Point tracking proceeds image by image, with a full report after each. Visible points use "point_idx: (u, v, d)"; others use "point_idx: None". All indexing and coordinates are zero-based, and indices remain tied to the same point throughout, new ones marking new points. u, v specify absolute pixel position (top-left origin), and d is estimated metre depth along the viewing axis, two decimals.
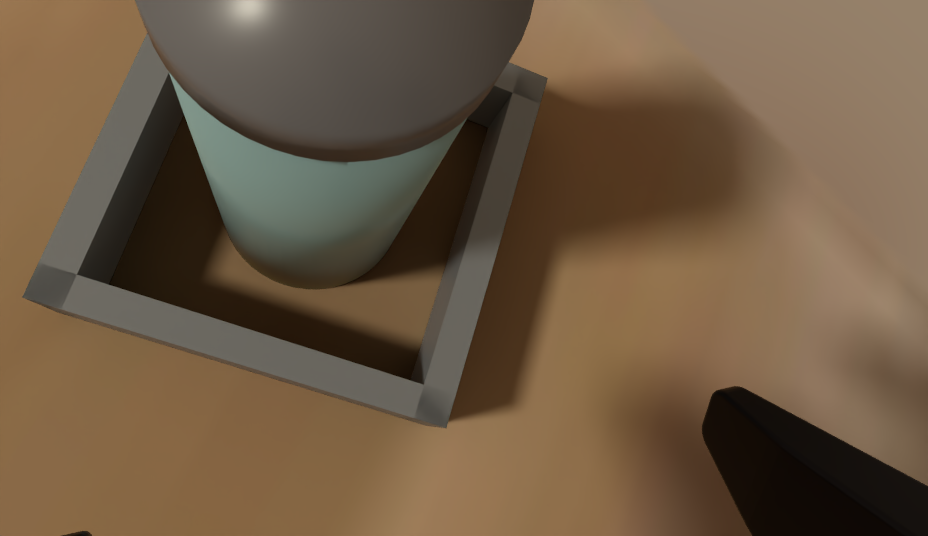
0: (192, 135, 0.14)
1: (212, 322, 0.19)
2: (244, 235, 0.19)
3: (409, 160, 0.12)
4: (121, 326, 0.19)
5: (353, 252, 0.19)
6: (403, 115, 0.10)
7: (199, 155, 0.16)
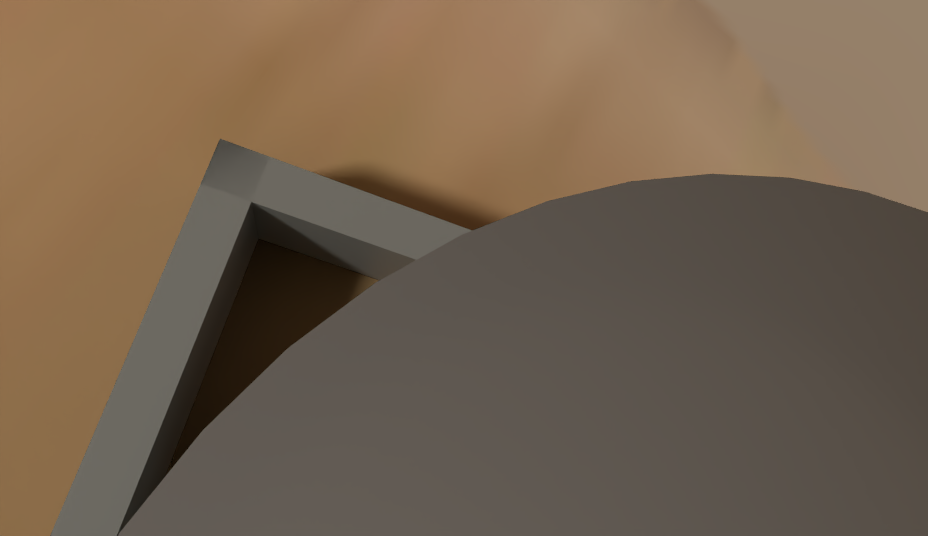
0: None
1: None
2: None
3: None
4: None
5: None
6: None
7: None
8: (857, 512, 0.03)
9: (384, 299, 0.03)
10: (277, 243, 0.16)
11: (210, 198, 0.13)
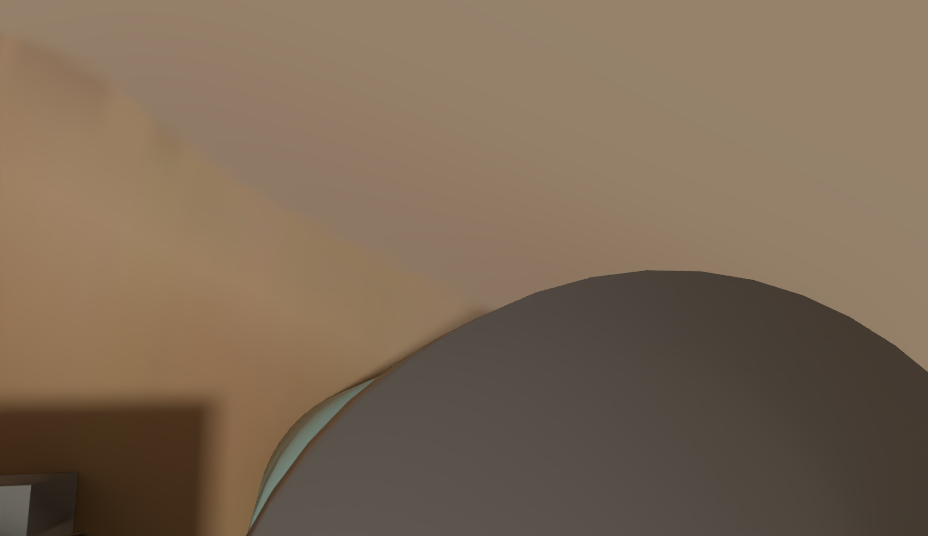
0: None
1: None
2: None
3: None
4: None
5: None
6: None
7: None
8: (739, 500, 0.04)
9: (429, 361, 0.04)
10: None
11: None
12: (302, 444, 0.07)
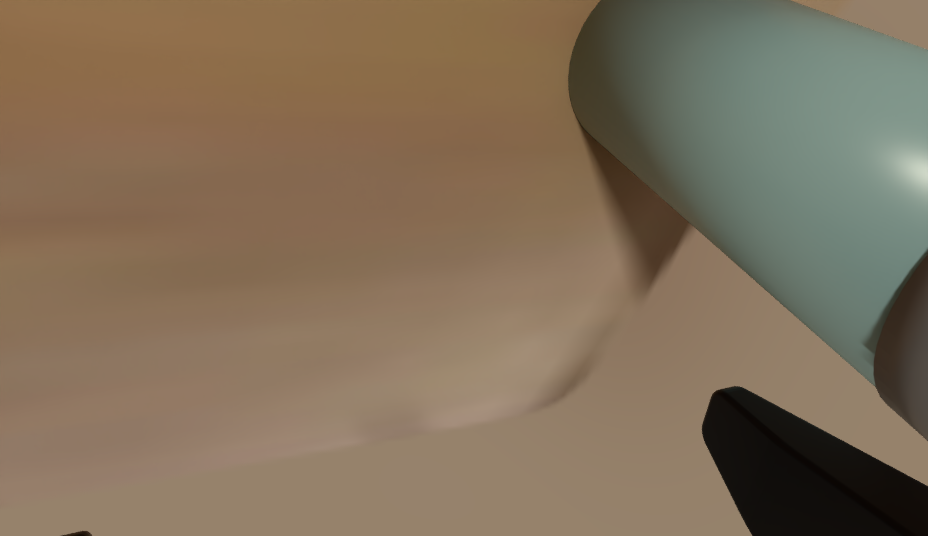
0: (857, 73, 0.14)
1: None
2: (678, 48, 0.17)
3: (842, 340, 0.13)
4: None
5: (652, 167, 0.18)
6: None
7: (808, 46, 0.15)
8: None
9: None
10: None
11: None
12: None
